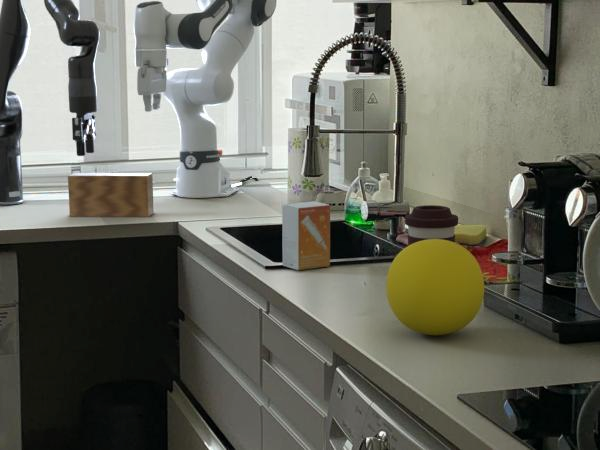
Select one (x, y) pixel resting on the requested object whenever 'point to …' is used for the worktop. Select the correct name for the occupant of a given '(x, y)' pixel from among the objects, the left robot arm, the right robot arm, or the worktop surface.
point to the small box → (306, 235)
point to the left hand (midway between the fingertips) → (85, 154)
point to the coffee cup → (431, 223)
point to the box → (111, 194)
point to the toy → (435, 287)
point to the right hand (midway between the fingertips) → (152, 110)
